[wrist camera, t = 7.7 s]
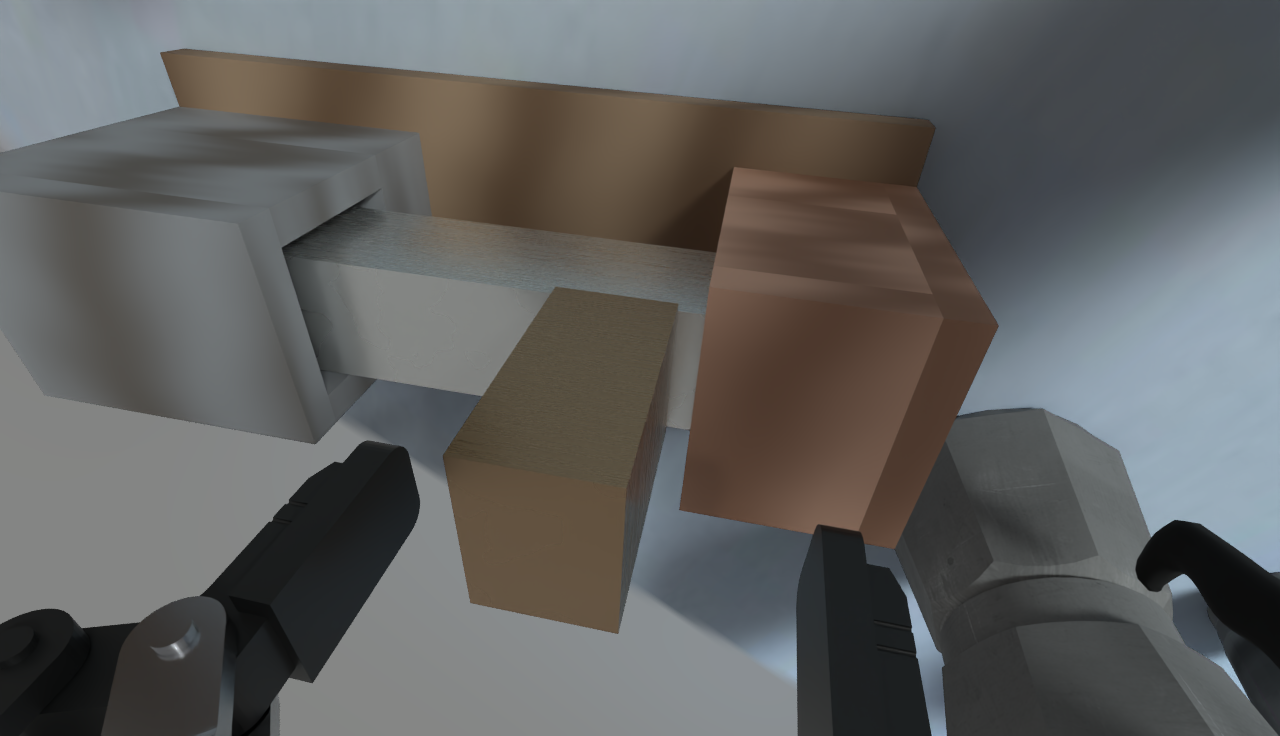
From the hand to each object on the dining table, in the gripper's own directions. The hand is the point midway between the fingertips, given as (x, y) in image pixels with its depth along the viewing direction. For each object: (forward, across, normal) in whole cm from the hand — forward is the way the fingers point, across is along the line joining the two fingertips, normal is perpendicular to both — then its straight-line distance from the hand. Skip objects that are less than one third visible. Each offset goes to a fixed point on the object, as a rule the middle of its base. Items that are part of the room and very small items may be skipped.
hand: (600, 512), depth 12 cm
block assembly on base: (+12, +6, 0) cm, 14 cm away
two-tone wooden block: (+8, +3, 0) cm, 9 cm away
